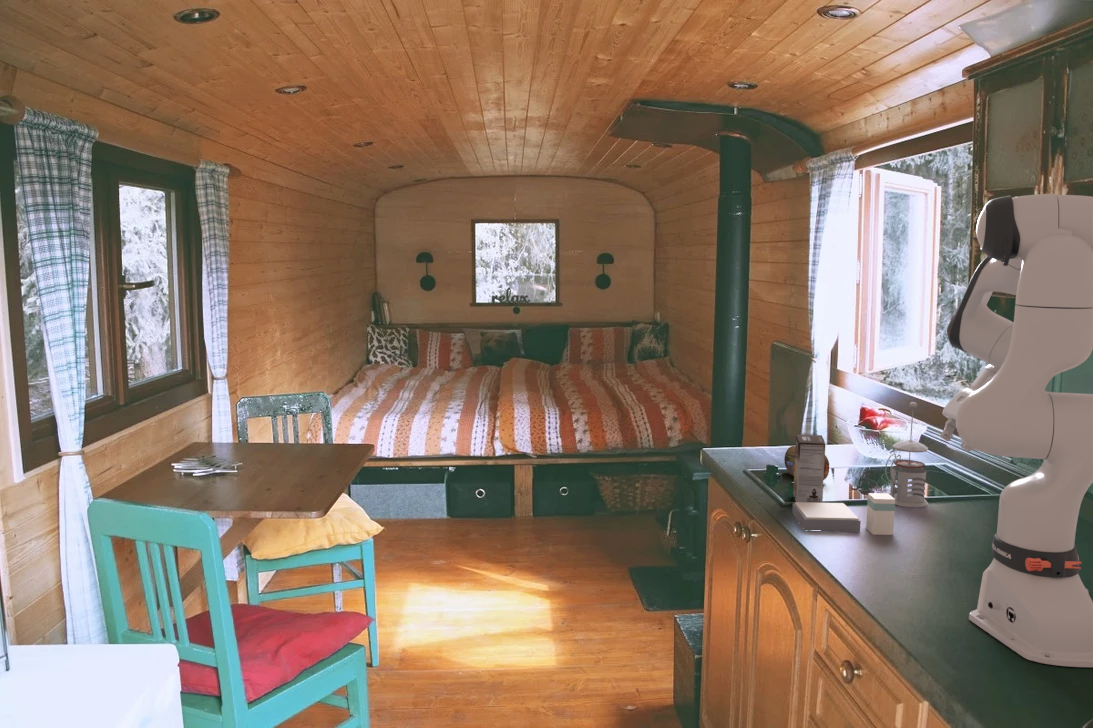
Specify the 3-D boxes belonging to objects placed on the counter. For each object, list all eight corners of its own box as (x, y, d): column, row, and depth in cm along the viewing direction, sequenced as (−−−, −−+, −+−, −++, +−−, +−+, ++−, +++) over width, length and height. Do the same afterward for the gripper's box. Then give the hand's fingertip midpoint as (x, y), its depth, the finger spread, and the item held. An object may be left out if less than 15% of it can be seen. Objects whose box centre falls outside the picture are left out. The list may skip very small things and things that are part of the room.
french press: (937, 504, 203) (944, 404, 200) (901, 509, 199) (907, 407, 196) (906, 493, 212) (913, 397, 209) (871, 498, 208) (876, 400, 205)
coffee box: (792, 495, 210) (795, 433, 208) (818, 497, 209) (821, 434, 207) (795, 506, 201) (798, 441, 199) (823, 508, 200) (826, 443, 198)
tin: (782, 472, 233) (784, 442, 232) (791, 471, 234) (793, 441, 233) (821, 486, 219) (823, 454, 218) (830, 484, 221) (832, 453, 219)
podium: (860, 532, 183) (860, 518, 183) (804, 530, 184) (805, 517, 183) (844, 515, 195) (844, 502, 195) (792, 513, 196) (792, 501, 195)
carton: (893, 535, 181) (895, 499, 180) (872, 534, 182) (874, 499, 181) (886, 528, 186) (888, 493, 185) (865, 527, 186) (867, 493, 185)
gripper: (959, 376, 187) (921, 425, 189) (1007, 391, 167) (964, 446, 169) (981, 391, 188) (943, 441, 190) (1032, 408, 168) (989, 463, 169)
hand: (953, 444), depth 179 cm, fingers open, 8 cm apart
